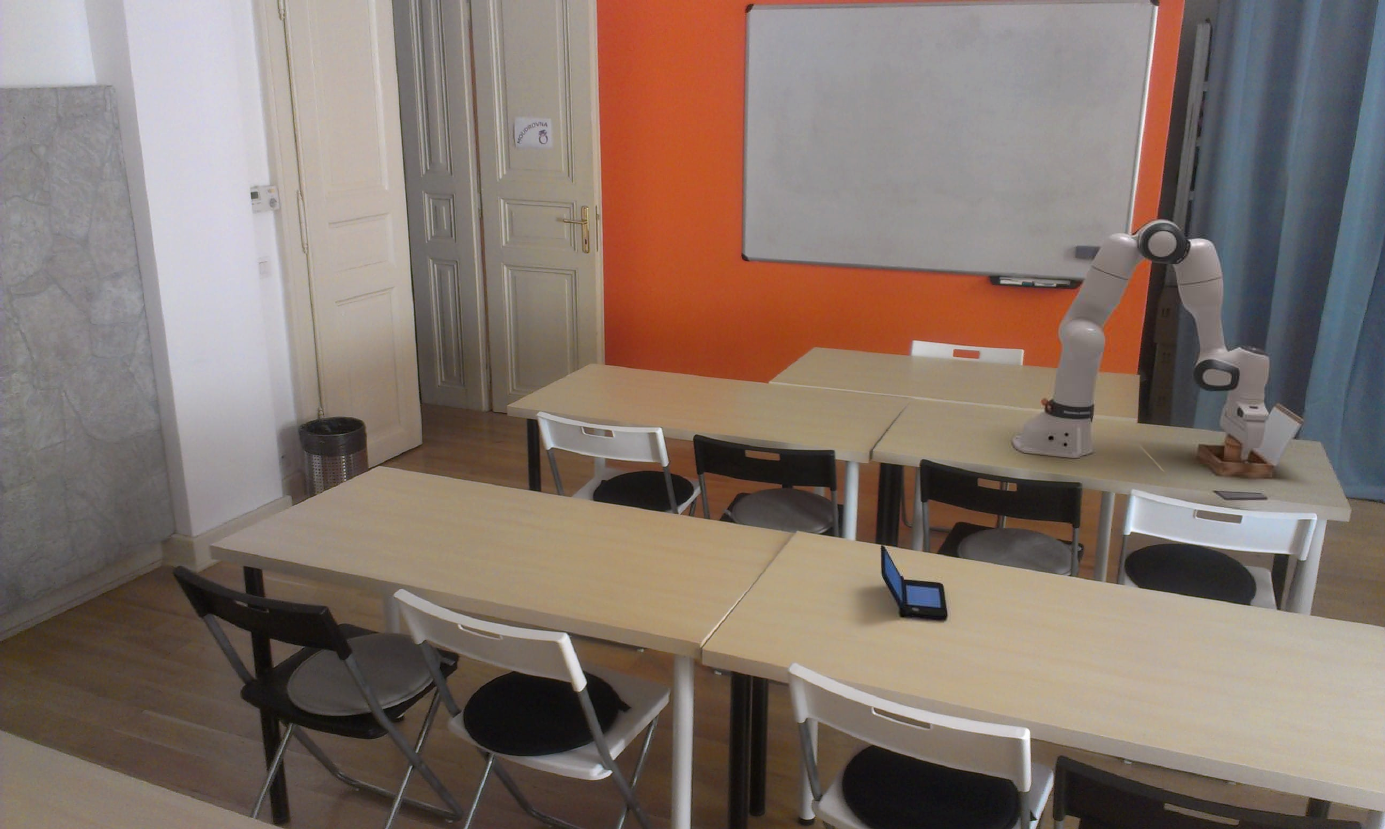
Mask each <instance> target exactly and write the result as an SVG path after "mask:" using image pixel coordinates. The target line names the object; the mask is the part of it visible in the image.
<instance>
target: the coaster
mask: <svg viewBox="0 0 1385 829" xmlns="http://www.w3.org/2000/svg"><path fill="white" fill-rule="evenodd" d="M1213 493H1214V494H1217V495H1218V496H1220V497H1221V498H1223V500H1225V501H1234V500H1235V501H1237V500H1238V501H1240V500H1241V501H1245V500H1246V501H1248V500H1249V501H1250V500H1251V501H1254V500H1261V501H1262V500H1266V501H1267V500H1268V499H1269V498H1268V496H1266V495H1265V494H1263V493H1261V492H1247V491H1246V492H1245V491H1227V490H1226V491H1223V490H1213Z"/></svg>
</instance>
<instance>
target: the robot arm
mask: <svg viewBox="0 0 1385 829" xmlns="http://www.w3.org/2000/svg"><path fill="white" fill-rule="evenodd" d="M1144 260H1148V261H1150V262H1152V263H1157V264H1166V265H1167V264H1168V265H1172V266H1173V268H1174V271H1175V274H1176V283H1177V290H1178V293H1179V296H1180V299H1181V300H1180V301H1181V303H1182V305H1183V308H1184V309H1186V311H1188V312H1189V313H1190V314H1191V315H1192V317H1193V319H1194V321H1195V324H1196V330H1197V336H1198V340H1199V348H1200V350H1199V353H1198V357H1197V359H1196V364H1195V367H1194V369H1193V372H1192V373H1193V374H1192V379H1193V380H1194V383H1195V385H1197V387H1198V388H1200V389H1201V390H1204V391H1207V392H1227V391H1228V393H1227V399H1226V403H1225V404H1224V405H1223V408H1222V412H1221V415H1220V421H1219V425H1220V428H1222V429H1223V430H1224V431H1225V437H1227V436H1233V437H1234V438H1235V439H1236V440H1238V441H1239V442H1240V443H1241V444H1242V448H1243V449H1242V451H1241V452H1240V454H1239V458H1241V459H1242V460H1247V459H1248V455H1249V453H1250V451H1251V450H1252V448H1259V447H1260V446H1261V445H1262V442H1263V438H1264V433H1265V427H1266V424H1265V421H1267V420H1268V419H1269V414H1270V413H1269V411H1268V409H1267V407H1266V405H1265V404H1266V403H1265V402H1264V401H1265V396H1266V394H1265V388H1266V385H1267V383H1268V381H1269V380H1268V379H1269V375H1270V374H1269V373H1270V357H1269V355H1268V354H1267V352H1266V351H1265V350H1263V349H1261V348H1259V347H1255V346H1251V345H1239V347H1236V348H1235V349H1233V350H1229V348H1228V346H1227V344H1226V340H1225V335H1224V329H1223V323H1222V316H1221V315H1222V308H1223V302H1224V279H1223V271H1222V267H1221V262H1220V259H1219V256H1218V252H1217V250H1216V248H1215V245H1214V243H1213V242H1212V241H1210V240H1208V239H1206V238H1205V239H1204V238H1192V239H1189V238H1188V237H1187V236H1186V235H1185V234H1184V233H1183V232H1182V231H1181V229H1180V227H1179V226H1178V225H1177V224H1176V223H1175V222H1172V221H1171V220H1168V219H1164V218H1163V219H1162V218H1158V219H1153V220H1151V221H1148V222H1147V223H1145V224H1144V225H1142V226H1141V227H1140V228H1138V229H1137V230H1136V231H1134V232H1132V234H1129V233H1128V234H1127V233H1124V232H1123V233H1122V232H1118V233H1112V234H1110V235H1109V236H1108V237H1107V238H1106V239H1105V241H1104V242H1103V243H1102V245H1101V246H1100V248H1099V249H1098V251H1097V253H1096V255H1095V257H1094V259H1093V261H1092V263H1091V265H1090V267H1089V269H1088V272H1087V274H1086V275H1085V278H1084V281H1083V282H1082V285H1081V286H1080V288H1079V292H1078V293H1077V295H1076V297H1075V298H1074V300H1073V301H1072V303H1071V305H1069V306H1070V307H1069V308H1068V309H1067V311H1066V313H1065V315H1064V317H1063V319H1062V321H1061V322H1060V324H1059V327H1058V330H1057V331H1058V333H1057V334H1058V339H1059V341H1060V342H1061V352H1060V357H1059V362H1058V367H1057V369H1056V370H1057V371H1056V372H1055V379H1054V388H1053V394H1052V395H1053V396H1052V399H1050V400H1048V398H1046V397H1045V398H1044V397H1043V398H1042V399H1041V401H1040V404H1041V405H1042V406H1043V407H1044V411H1042V412H1041V413H1039V414H1038V415H1036V416H1034V417H1032V418H1030V419H1028V420H1027V421H1026V422H1025V423H1023V427H1022V429H1021V431H1020V432H1021V433H1020V435H1015V436H1014V437H1012V441H1011V444H1012V445H1013V447H1014V448H1015V449H1016V450H1017V451H1019V452H1021V453H1025V454H1033V455H1043V456H1050V457H1060V458H1070V459H1077V458H1081V457H1082V456H1086V455H1090V454H1091V453H1093V451H1094V449H1093V448H1094V447H1093V443H1092V423H1093V420H1094V415H1095V403H1094V400H1095V392H1096V385H1097V378H1098V374H1099V370H1100V367H1101V363H1102V358H1103V355H1104V350H1105V348H1106V347H1105V346H1106V335H1105V333H1104V331H1103V329H1104V326H1105V325H1106V323H1107V321H1108V320H1109V318H1110V317H1111V315H1112V314H1113V312H1115V310H1116V309H1117V308H1118V306H1119V305H1120V303H1121V301H1122V298H1123V296H1124V293H1125V292H1126V290H1127V287H1128V285H1129V283H1130V281H1131V279H1132V276H1133V274H1134V272H1135V270H1136V268H1137V267H1138V265H1139V264H1140V263H1141V262H1142V261H1144Z"/></svg>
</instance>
